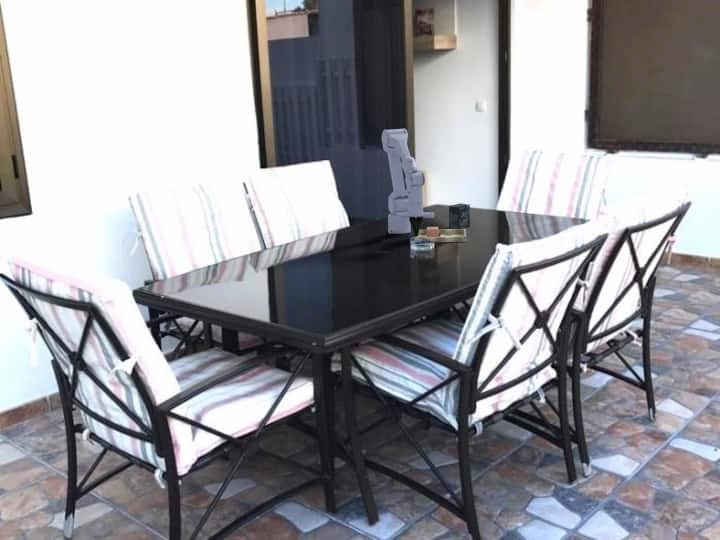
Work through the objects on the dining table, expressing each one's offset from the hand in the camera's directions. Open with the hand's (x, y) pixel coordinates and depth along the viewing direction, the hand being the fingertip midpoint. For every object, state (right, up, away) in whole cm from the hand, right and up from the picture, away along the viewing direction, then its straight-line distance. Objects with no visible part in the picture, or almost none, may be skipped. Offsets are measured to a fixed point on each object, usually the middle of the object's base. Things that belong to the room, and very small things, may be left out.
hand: (416, 235), depth 297 cm
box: (+20, +4, +20) cm, 28 cm away
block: (+6, -1, -1) cm, 7 cm away
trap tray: (+9, -2, -1) cm, 10 cm away
